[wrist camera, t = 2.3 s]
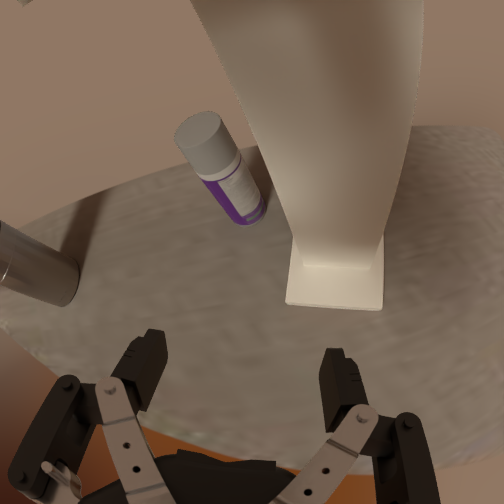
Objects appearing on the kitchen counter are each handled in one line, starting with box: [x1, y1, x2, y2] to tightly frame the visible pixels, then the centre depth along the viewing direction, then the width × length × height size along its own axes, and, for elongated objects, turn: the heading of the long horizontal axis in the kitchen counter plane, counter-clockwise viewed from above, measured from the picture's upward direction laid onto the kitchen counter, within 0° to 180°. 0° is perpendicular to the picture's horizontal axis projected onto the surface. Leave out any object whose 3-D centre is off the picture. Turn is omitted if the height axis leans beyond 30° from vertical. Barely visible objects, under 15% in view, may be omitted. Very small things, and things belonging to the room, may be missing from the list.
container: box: [174, 111, 266, 227], centre depth 28 cm, size 5×5×15 cm
